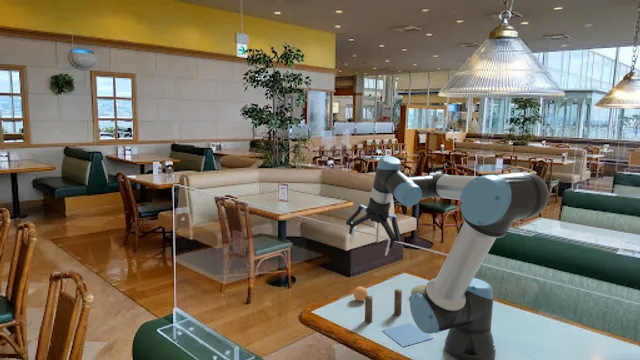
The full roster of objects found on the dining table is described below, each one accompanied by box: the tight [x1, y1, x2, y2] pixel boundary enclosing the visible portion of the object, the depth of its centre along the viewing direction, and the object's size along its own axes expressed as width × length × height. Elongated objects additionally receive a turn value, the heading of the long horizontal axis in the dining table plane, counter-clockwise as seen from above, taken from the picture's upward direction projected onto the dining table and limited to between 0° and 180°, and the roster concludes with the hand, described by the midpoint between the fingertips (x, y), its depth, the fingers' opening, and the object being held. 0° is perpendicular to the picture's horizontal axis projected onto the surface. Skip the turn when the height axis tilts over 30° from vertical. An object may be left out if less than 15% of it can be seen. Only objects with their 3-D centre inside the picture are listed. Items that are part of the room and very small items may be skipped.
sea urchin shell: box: [410, 284, 427, 297], centre depth 181 cm, size 9×8×8 cm
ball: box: [352, 286, 369, 302], centre depth 179 cm, size 6×6×6 cm
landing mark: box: [381, 322, 433, 348], centre depth 152 cm, size 12×12×1 cm
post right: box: [393, 289, 403, 316], centre depth 167 cm, size 3×3×9 cm
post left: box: [364, 295, 374, 324], centre depth 161 cm, size 3×3×9 cm
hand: (368, 247), depth 168 cm, fingers open, 13 cm apart
